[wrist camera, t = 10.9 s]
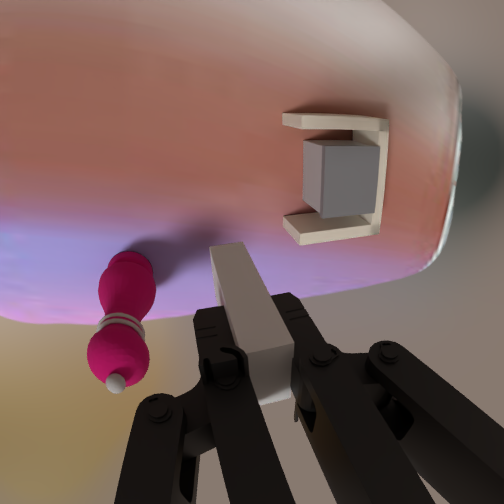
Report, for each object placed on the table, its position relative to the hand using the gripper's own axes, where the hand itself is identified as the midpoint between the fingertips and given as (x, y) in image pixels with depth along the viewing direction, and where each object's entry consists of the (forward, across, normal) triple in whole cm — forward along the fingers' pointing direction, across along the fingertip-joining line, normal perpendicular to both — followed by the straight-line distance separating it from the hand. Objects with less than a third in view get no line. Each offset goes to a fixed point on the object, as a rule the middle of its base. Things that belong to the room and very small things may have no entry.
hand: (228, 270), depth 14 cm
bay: (+25, +16, -2) cm, 29 cm away
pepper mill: (+25, -10, -13) cm, 29 cm away
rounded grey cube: (+25, +17, -2) cm, 30 cm away
